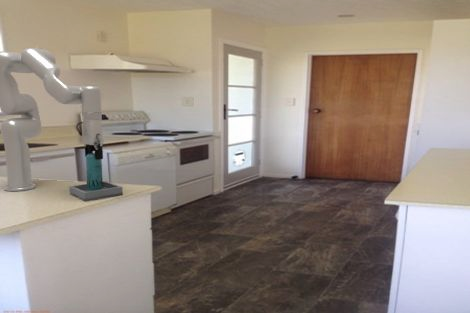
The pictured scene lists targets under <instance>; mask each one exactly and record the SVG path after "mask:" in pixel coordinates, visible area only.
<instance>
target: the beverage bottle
mask: <svg viewBox="0 0 470 313" xmlns="http://www.w3.org/2000/svg"><path fill="white" fill-rule="evenodd" d="M95 150H96V149H95V147H94V144H93V145H91V146H88V151H93V153H89V154H88V155H87V156H86V157H85V163H86V164H85V165H86V184H87V189H88V190H90V191H95V190H101V189H103V181H104V180H103V179H104V178H103V164H102V162H103V159H99V160H95Z"/></svg>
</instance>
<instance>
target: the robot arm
mask: <svg viewBox="0 0 470 313" xmlns="http://www.w3.org/2000/svg"><path fill="white" fill-rule="evenodd" d="M11 73H18V74H19V73H20V74H35V75H36V76H37V77H38V78H39V79H40V80H41V81H42V84H43V86H44V87H43V88H44V89H45V91H46V92H47V94H49V96H50V97H51V98H53V99H54V100H55V101H57V102H58V103H60V104H62V105H81V114H82V115H81V116H82V118H81V120H82V129H81V130H82V132H81V137H82V143H83V144H84V157H85V158H86V156H87V155H88V154H89V153H95V160H99V159H102V160H103V159H104V151H103V149H104V138H103V128H102V120H103V119H102V118H103V117H102V115H103V114H102V112H103V111H102V97H101V96H102V94H101V93H102V92H101V89H100V87H99V86H93V85H92V86H91V85H90V86H89V85H87V86H81V85H67V84H64V83H63V82H62V81H61V80H60V79H59V77H60V75H61V69H60V67H59V66H58V65H57V63H56V58H55V56H54V54H53V53H52V52H50V51H49V50H46V49H41V48H35V47H27V48H25V49H23V50H22V51H21V52H13V51H6V50H5V51H4V50H3V51H0V111H1V113H3V115H6V116H21V117H13V118H7V119H5V120H4V121H3V122H2V123H1V125H0V134H1V137H2V141H3V145H4V146H3V147H4V154H5V155H4V156H5V164H6V165H5V166H6V177H7V185H5V186H4V187H3V188H4V191H6V192H20V191H28V190H32V189H34V188H36V187H37V184H36V183H33V180H32V166H31V154H30V147H29V144H28V142H27V141H26V140H27V139H33V138H37V137H39V136H40V135H41V133H42V122H41V121H42V120H41V117H40V111H39V107H38V103H37V101H36V99H35V98H34V97H33V96H32V95H30V94H28V93H27V94H26V93H21V92H20V90H19V87H18V81H16V79H15V77H14V76H13V75H12V74H11ZM25 139H26V140H25ZM91 145H94V147H95V149H96V150H95V151H88V146H91Z"/></svg>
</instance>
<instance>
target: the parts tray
mask: <svg viewBox="0 0 470 313" xmlns="http://www.w3.org/2000/svg"><path fill="white" fill-rule="evenodd" d="M69 195H70V196H72V197H75V198H77V199H79V200H81V201H83V202H89V201H90V202H91V201H96V200H102V199H107V198H108V199H109V198H112V197H113V198H114V197H118V196H123V186H121V185H118V184H115V183H112V182H109V181H107V180H103V189H101V190H95V191H90V190H88V189H87V183H84V184H83V183H82V184H76V185H70V186H69Z"/></svg>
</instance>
